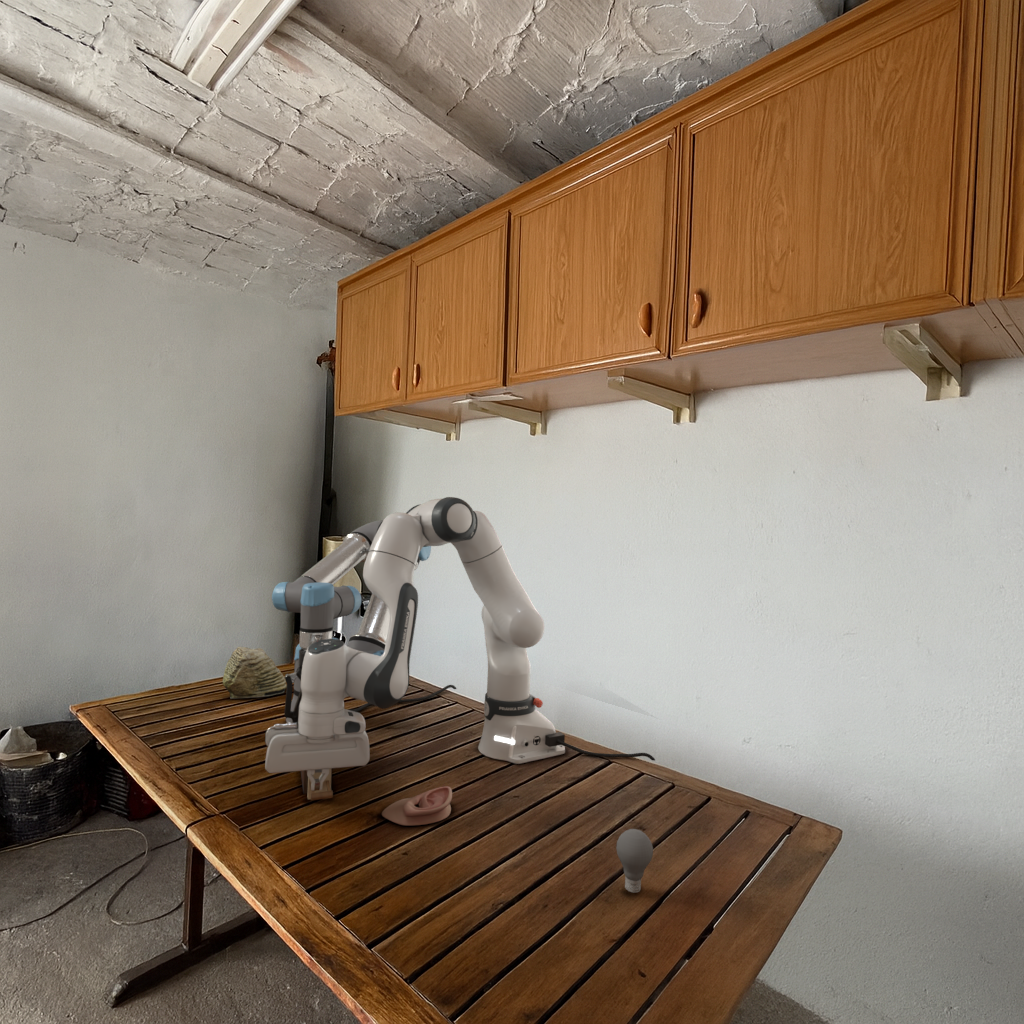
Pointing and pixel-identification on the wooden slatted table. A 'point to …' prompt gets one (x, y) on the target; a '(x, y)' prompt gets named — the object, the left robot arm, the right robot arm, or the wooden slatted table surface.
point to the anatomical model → (421, 808)
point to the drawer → (326, 787)
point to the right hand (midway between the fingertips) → (316, 789)
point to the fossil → (252, 674)
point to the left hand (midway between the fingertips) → (312, 743)
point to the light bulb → (634, 857)
